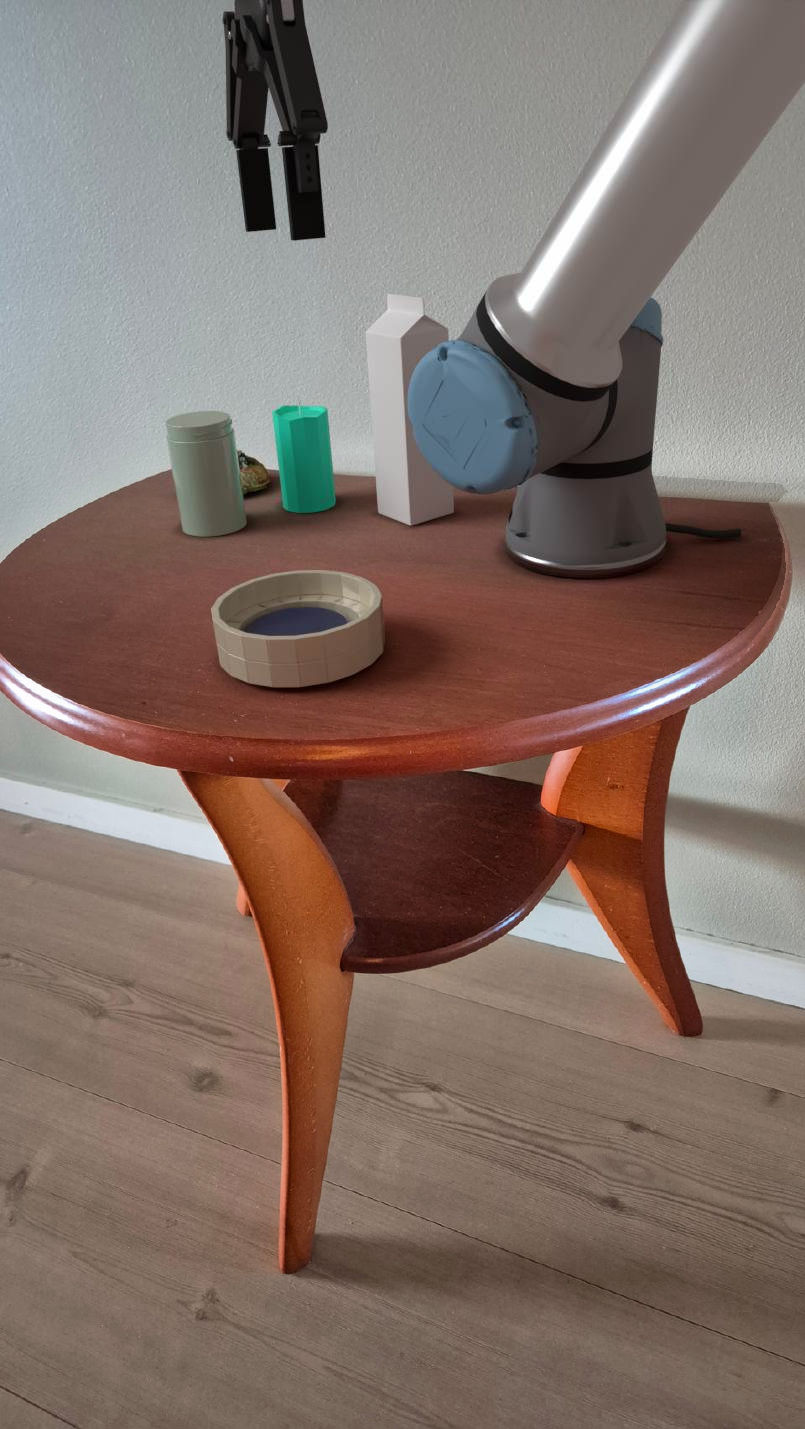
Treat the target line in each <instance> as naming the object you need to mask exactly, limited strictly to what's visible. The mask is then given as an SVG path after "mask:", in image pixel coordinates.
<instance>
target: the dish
mask: <svg viewBox="0 0 805 1429" xmlns="http://www.w3.org/2000/svg"><path fill="white" fill-rule="evenodd" d="M383 602H384V601H383V594H382V592H381V591H380V589H379V587H378V586H377V585H376V584H374V583H373V582H372V581H370V580H368V579H367V578H365V577H363V576H359V575H356V574H352V573H348V572H345V571H336V570H326V569H300V570H291V571H284V572H283V571H282V572H276V573H271V574H267V575H262V576H259V577H256V578H252V579H249V580H247V581H245V582H242V583H240V584H238V585H235V586H233V587H231V588H230V589H228V590H226V591H225V592H224V593H222V594H221V595H220V596H218V597H217V598H216V600H215V602H214V604H213V605H212V607H211V608H210V612H211V619H212V625H213V631H214V638H215V643H216V649H217V655H218V661H219V666H220V667H221V668H222V669H223V670H224V671H225V672H226V673H227V674H228V675H229V676H230V677H233V678H235V679H237V680H240V681H243V682H245V683H247V684H249V685H250V684H251V685H256V686H262V687H268V688H304V687H310V686H317V685H322V684H328V683H332V682H335V681H339V680H341V679H345V678H348V677H351V676H353V675H355V674H357V673H359V672H361V671H362V670H364V669H366V668H368V667H370V666H372V665H373V664H374V663H375V662H376V660H378V658H379V657H380V656H381V655H382V654H383V652H384V649H385V648H384V647H385V643H386V633H385V621H384V620H385V619H384V618H385V616H384V603H383ZM297 607H317V608H325V609H329V610H333V611H336V612H338V613H340V614H341V615H343V616H344V617H345V618H346V619H347V621H348V623H347V624H345V625H342V626H339V627H335V628H332V629H329V630H325V631H322V632H317V633H310V634H303V635H297V636H265V635H258V634H251V633H246V630H247V628H248V626H249V625H250V624H251V623H252V622H254V621H255V620H256V619H258V618H260V617H262V616H264V615H266V614H269V613H272V612H275V611H279V610H283V609H289V608H297Z"/></svg>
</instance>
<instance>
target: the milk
mask: <svg viewBox="0 0 805 1429" xmlns="http://www.w3.org/2000/svg"><path fill="white" fill-rule="evenodd" d="M386 302H387V304H386V305H387V307H386V308H387V309H386V310H385V311H384V312H383V313H382V315H381V316H379V317H378V319H376V320H375V322H374V323H373V324H371V326H370V327H368V329H366V330H365V343H366V344H365V345H366V358H367V373H368V374H367V375H368V387H369V401H370V415H371V430H372V446H373V456H374V457H373V460H374V472H375V473H374V474H375V486H376V488H375V489H376V501H377V503H376V504H377V513H378V514H379V515H381V516H385V517H387V518H390V519H392V520H394V521H397V522H400V523H402V524H404V525H407V526H410V527H412V526H415V525H418V524H423V523H425V522H428V521H431V520H434V519H438V518H441V517H445V516H448V515H452V514H453V513H455V507H454V506H455V504H454V502H455V501H454V486H452V485H451V484H449V483H448V482H446V481H445V480H444V479H442V478H441V477H440V476H439V475H438V474H437V473H436V472H435V471H434V470H433V469H432V467H431V466H430V465H429V464H428V462H427V461H426V460H425V458H424V456H423V455H422V453H421V451H420V449H419V447H418V446H417V443H416V441H415V438H414V435H413V432H414V428H413V425H412V423H411V421H410V419H409V415H408V390H409V384H410V380H411V377H412V374H413V372H414V370H415V368H416V366H417V364H418V363H419V362H420V360H421V359H422V358H423V357H424V356H425V355H426V354H427V353H428V352H430V351H431V350H433V349H435V348H436V347H437V346H438V344H440V343H442V342H446V341H450V340H449V339H450V338H449V337H450V336H449V328H448V327H446V326H445V325H443V324H441V323H440V322H438V321H437V320H435V319H433V318H432V317H429V316H428V315H426V312H425V311H426V310H425V300H424V298H423V297H422V296H413V295H404V294H396V293H388V294H387V295H386Z"/></svg>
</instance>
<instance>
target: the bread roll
mask: <svg viewBox="0 0 805 1429" xmlns="http://www.w3.org/2000/svg"><path fill="white" fill-rule="evenodd" d="M237 454H238V461H239V469H240V476H241V483H242V490H243V496H245V495H246V494H248V493H249V492H257V491H260V490H264V489H266V488H267V487H268V484H269V483H270V482H271V480H270V478H271V477H270V475H269V473H268V470H267V467H265V465H264V464H263V463H262V462H260V461H259V460H258V459H257V458H255V457H252V456H249V455H248V454H247V455H246V453H245V452H243V450H241V449H239V450H238V449H237Z"/></svg>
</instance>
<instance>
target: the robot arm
mask: <svg viewBox="0 0 805 1429" xmlns="http://www.w3.org/2000/svg"><path fill="white" fill-rule="evenodd" d="M221 19H222V25H223V33H224V43H225V101H226V102H225V104H226V105H225V107H226V109H225V110H226V111H225V112H226V113H225V114H226V130H225V133H226V138H227V140H228V141H229V142H232V144H233V147H234V149H235V154H236V162H237V168H238V177H239V186H240V195H241V203H242V211H243V218H244V229H245V233H254V232H263V231H273V230H277V221H276V213H275V203H274V194H273V193H274V192H273V184H272V175H271V164H270V155H269V148H271V147H272V143H271V140H270V138H269V136H268V133H267V134H265V129H266V119H267V118H266V117H267V108H268V97H269V94H270V96H271V100H272V102H273V105H274V108H275V112H276V114H277V118H278V121H279V124H280V127H281V130H279V133H278V136H277V142H276V144H277V146H278V147H281V153H282V154H281V155H282V164H283V173H284V183H285V184H284V185H285V193H286V194H285V195H286V204H287V214H288V215H287V216H288V225H289V235H290V241H305V240H306V241H307V240H317V239H326V226H325V225H326V224H325V214H324V202H323V201H324V200H323V189H322V178H321V167H320V155H319V154H320V153H319V144H320V142H321V135H322V134H327V132H328V128H329V124H328V119H327V116H326V110H325V105H324V101H323V97H322V93H321V88H320V83H319V79H318V73H317V71H316V65H315V60H314V57H313V53H312V49H311V43H310V39H309V35H308V29H307V26H306V18H305V9H304V0H234V11H232V10H231V11H229V10H228V11H223V13H222V18H221ZM804 84H805V0H681V2H680V3H679V6H678V7H677V9H676V10H675V11H674V14H673V15H672V17H671V19H670V20H669V22H668V24H667V25H666V27H665V29H664V30H663V32H662V34H661V36H660V37H659V39H658V41H657V42H656V44H655V46H654V47H653V49H652V51H651V53H650V54H649V56H648V57H647V59H646V61H645V63H644V64H643V66H642V68H641V69H640V71H639V72H638V75H637V76H636V78H635V79H634V81H633V83H632V85H631V86H630V88H629V90H628V92H627V93H626V94H625V97H624V98H623V99H622V102H621V103H620V105H619V107H618V108H617V110H616V112H615V113H614V115H613V117H612V118H611V120H610V122H609V123H608V125H607V127H606V128H605V130H604V132H603V133H602V135H601V137H600V138H599V140H598V142H597V144H596V145H595V147H594V149H593V151H592V152H591V154H590V155H589V158H588V159H587V161H586V162H585V164H584V166H583V167H582V169H581V170H580V173H579V174H578V175H577V177H576V180H575V181H574V182H573V184H572V186H571V188H570V189H569V190H568V193H567V194H566V196H565V198H564V199H563V201H562V203H561V205H560V206H559V208H558V210H557V211H556V213H555V215H554V216H553V218H552V220H551V222H550V223H549V225H548V226H547V228H546V230H545V231H544V233H543V235H542V236H541V238H540V239H539V242H538V244H536V247H535V248H534V250H533V251H532V253H531V255H530V256H529V259H528V261H527V262H526V263H525V265H524V266H523V268H522V270H521V272H517V273H511V274H506V275H501V276H499V277H496V278H495V279H494V280H493V281H492V282H491V283H490V285H489V286H488V287H487V289H486V290H485V292H484V294H483V295H482V297H481V299H480V301H479V303H478V304H477V305H476V308H475V310H474V311H473V313H472V315H471V317H470V318H469V320H468V322H467V323H466V326H465V327H464V329H463V331H461V333H460V335H459V336H458V337H457V338H456V339H450V340H449V341H446V342H442V343H440V344H438V346H437V347H436V348H435V349H433V350H431V351H430V352H428V353H427V354H426V355H425V356H424V357H423V358H422V359H421V360H420V362H419V363H418V364H417V366H416V368H415V370H414V372H413V374H412V377H411V380H410V384H409V390H408V415H409V419H410V421H411V423H412V425H413V428H414V432H413V435H414V438H415V441H416V443H417V446H418V447H419V449H420V451H421V453H422V455H423V456H424V458H425V460H426V461H427V462H428V464H429V465H430V466H431V467H432V469H433V470H434V471H435V472H436V473H437V474H438V475H439V476H440V477H441V478H442V479H444V480H445V481H446V482H448V483H449V484H451V485H452V486H453V488H456V489H458V490H459V491H462V492H465V493H469V494H474V495H493V494H496V493H499V492H502V491H506V490H511V489H513V488H517V487H518V489H517V492H516V495H515V498H514V501H513V503H512V506H511V508H510V509H509V513H508V517H507V519H506V520H507V521H506V525H505V533H504V553H505V554H506V556H507V558H509V559H510V561H512V562H513V563H515V564H517V565H518V566H520V567H523V568H525V569H527V570H530V571H533V572H537V573H540V574H545V575H550V576H556V577H565V578H582V579H583V578H584V579H585V578H587V579H589V578H591V579H592V578H594V579H595V578H606V577H617V576H622V575H628V574H631V573H635V572H639V571H641V570H644V569H647V568H650V567H651V566H653V565H655V564H656V563H658V562H659V561H660V560H661V559H662V558H663V557H664V556H665V553H666V547H667V546H666V545H667V532H668V533H675V534H684V535H689V536H690V535H691V536H696V537H701V538H706V539H719V540H720V539H731V538H732V539H733V538H741V537H742V529H741V528H731V529H721V530H720V529H717V530H716V529H708V528H707V529H706V528H701V527H697V526H692V525H686V524H685V525H684V524H677V523H669V522H665V518H664V515H663V511H662V507H661V502H660V499H659V495H658V490H657V487H656V482H655V479H654V474H653V469H652V468H653V455H654V454H653V452H654V443H655V442H654V441H655V427H656V418H657V416H656V415H657V403H658V393H659V392H658V391H659V380H660V366H661V356H662V355H661V354H662V347H663V345H664V336H663V334H662V320H663V314H662V313H663V312H662V308H661V305H660V304H659V302H658V300H656V299H655V298H654V297H652V296H653V294H654V293H655V292H656V290H657V289H658V287H659V286H660V285H661V283H662V282H663V280H664V279H665V278H666V276H667V275H668V274H669V272H670V271H671V269H672V268H673V267H674V265H675V264H676V262H677V261H678V260H679V258H680V257H681V255H682V254H683V253H684V251H685V250H686V249H687V247H688V245H689V244H690V243H691V242H692V240H693V239H694V237H695V236H696V234H697V233H698V232H699V231H700V229H701V228H702V226H703V225H704V223H705V222H706V221H707V220H708V218H709V216H710V215H711V214H712V212H713V211H714V209H715V208H716V207H717V205H718V204H719V202H720V201H721V199H722V198H723V197H724V196H725V194H726V193H727V191H728V190H729V189H730V187H731V186H732V184H733V183H734V181H735V180H736V179H737V177H738V176H739V175H740V173H741V172H742V170H743V169H744V168H745V166H746V165H747V163H748V162H749V161H750V159H752V157H753V155H754V154H755V153H756V151H757V149H758V148H759V147H760V146H761V144H762V142H763V141H764V140H765V138H766V137H767V135H768V134H769V133H770V132H771V130H772V129H773V127H774V126H775V125H776V123H777V122H778V120H779V118H781V116H782V115H783V113H784V112H785V111H786V109H787V108H788V106H790V104H791V102H792V101H793V100H794V99H795V96H796V95H797V94H798V93H799V91H800V89H801V88H802V87H803V85H804Z"/></svg>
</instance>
